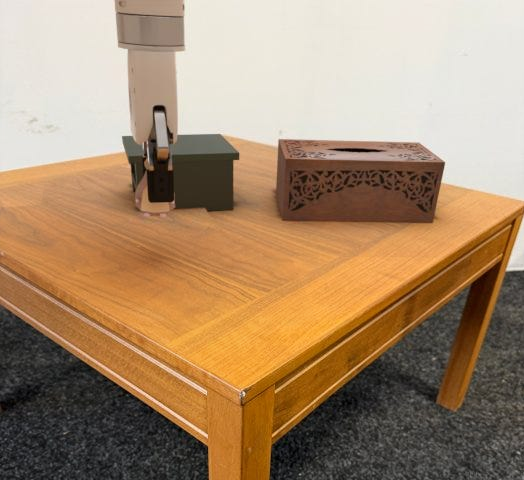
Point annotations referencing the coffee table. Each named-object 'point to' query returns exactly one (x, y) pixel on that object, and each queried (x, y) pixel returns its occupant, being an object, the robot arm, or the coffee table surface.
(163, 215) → the mouse figurine
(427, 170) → the tissue box cover
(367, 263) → the coffee table surface
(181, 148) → the dark green lidded box
